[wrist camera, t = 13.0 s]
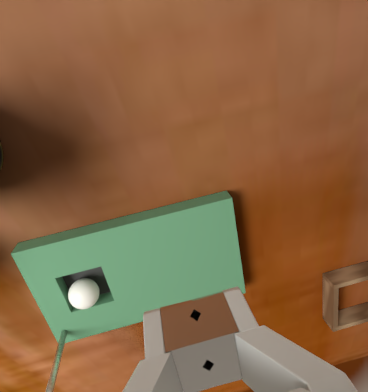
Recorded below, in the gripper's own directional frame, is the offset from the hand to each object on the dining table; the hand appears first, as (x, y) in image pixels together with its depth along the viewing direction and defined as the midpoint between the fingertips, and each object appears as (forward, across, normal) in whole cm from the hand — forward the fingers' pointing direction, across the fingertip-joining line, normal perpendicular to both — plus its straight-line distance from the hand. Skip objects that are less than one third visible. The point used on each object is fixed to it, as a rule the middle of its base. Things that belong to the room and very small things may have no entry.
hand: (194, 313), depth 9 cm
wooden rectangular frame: (+29, -29, +34) cm, 53 cm away
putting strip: (+29, +6, +18) cm, 35 cm away
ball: (+27, +13, +18) cm, 35 cm away
